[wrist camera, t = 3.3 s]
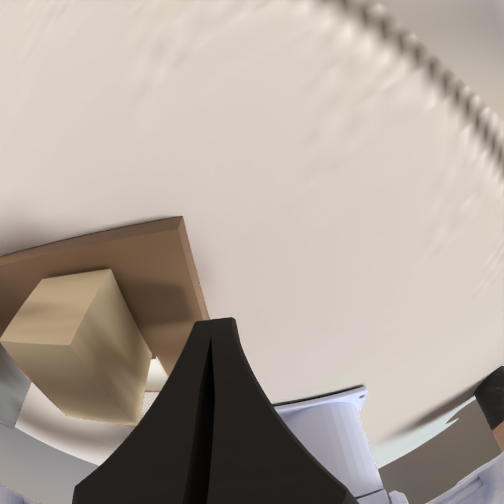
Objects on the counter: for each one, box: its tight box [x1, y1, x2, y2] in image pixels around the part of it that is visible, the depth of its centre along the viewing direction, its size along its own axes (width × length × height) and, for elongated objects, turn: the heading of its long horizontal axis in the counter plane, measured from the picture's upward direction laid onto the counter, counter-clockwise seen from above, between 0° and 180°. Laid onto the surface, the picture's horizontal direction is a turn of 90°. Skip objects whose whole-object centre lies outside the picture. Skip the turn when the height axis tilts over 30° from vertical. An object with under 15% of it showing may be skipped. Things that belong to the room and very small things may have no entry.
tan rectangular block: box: [0, 269, 152, 426], centre depth 10 cm, size 8×4×4 cm, turn 7°
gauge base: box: [0, 216, 210, 429], centre depth 10 cm, size 10×18×6 cm, turn 97°
